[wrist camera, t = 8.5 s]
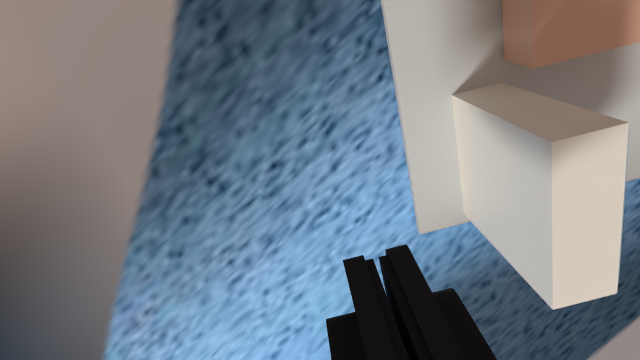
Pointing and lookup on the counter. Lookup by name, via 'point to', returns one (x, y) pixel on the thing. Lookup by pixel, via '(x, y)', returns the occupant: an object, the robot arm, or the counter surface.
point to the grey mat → (479, 71)
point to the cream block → (545, 188)
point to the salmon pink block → (566, 29)
